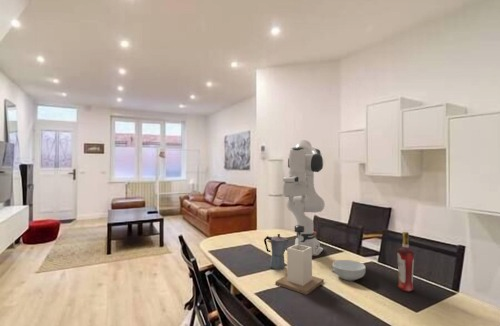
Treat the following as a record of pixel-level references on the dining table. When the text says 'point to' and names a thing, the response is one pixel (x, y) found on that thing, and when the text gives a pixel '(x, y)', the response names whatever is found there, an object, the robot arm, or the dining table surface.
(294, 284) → the hollow square stand
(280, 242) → the moka pot
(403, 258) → the liquor
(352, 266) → the cereal bowl
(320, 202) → the robot arm
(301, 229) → the dark-topped thin piece
